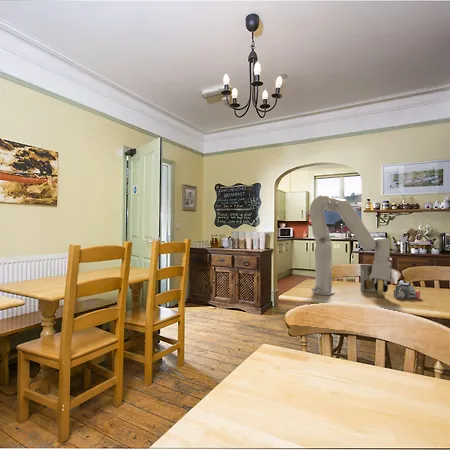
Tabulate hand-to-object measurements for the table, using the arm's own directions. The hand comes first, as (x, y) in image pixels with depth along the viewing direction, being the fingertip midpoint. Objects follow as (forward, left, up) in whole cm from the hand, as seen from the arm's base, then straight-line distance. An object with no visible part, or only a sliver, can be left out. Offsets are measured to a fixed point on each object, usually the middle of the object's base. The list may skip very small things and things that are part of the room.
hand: (381, 290), depth 176 cm
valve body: (+11, -10, -4) cm, 16 cm away
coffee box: (+12, +13, -4) cm, 18 cm away
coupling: (0, 0, -3) cm, 3 cm away
